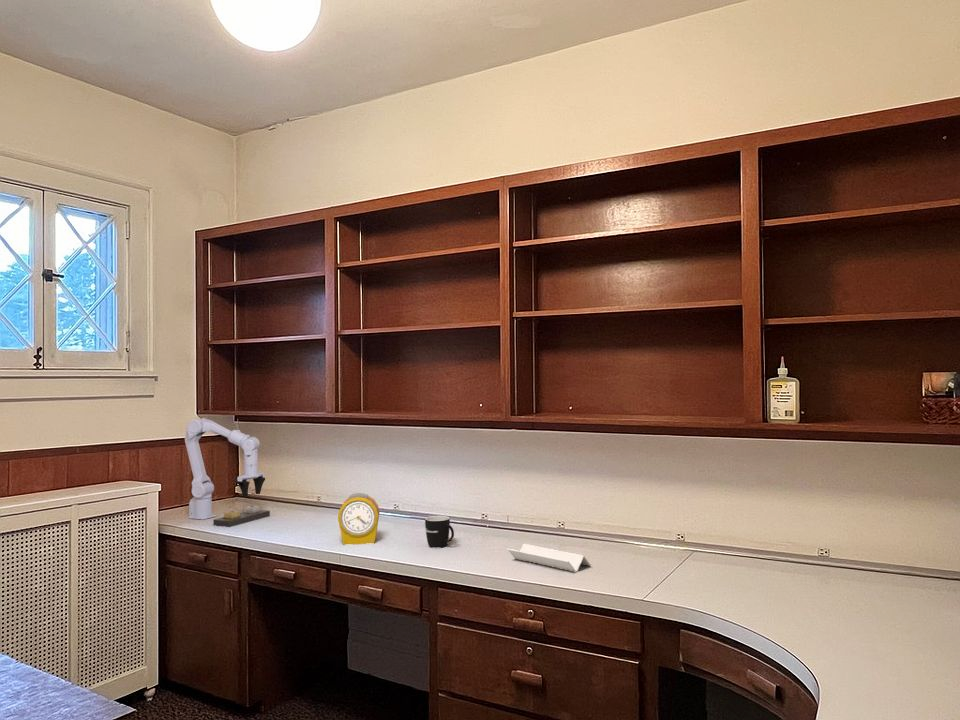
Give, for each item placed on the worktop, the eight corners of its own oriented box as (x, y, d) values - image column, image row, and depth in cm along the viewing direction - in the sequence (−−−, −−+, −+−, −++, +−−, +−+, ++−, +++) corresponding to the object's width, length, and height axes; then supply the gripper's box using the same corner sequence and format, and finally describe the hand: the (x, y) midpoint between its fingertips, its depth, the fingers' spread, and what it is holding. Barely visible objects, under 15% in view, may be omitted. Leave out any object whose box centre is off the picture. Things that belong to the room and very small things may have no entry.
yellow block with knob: (224, 524, 314) (223, 512, 314) (232, 522, 318) (231, 510, 318) (231, 525, 311) (231, 513, 311) (239, 522, 315) (239, 511, 315)
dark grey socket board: (213, 525, 311) (213, 519, 311) (254, 514, 333) (254, 509, 333) (229, 527, 307) (228, 521, 307) (269, 516, 328) (269, 510, 328)
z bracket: (524, 569, 251) (531, 553, 255) (584, 583, 234) (592, 566, 237) (507, 549, 245) (515, 533, 248) (567, 562, 228) (575, 545, 231)
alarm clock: (338, 545, 272) (337, 495, 272) (340, 540, 280) (339, 492, 280) (378, 543, 273) (377, 494, 273) (380, 538, 281) (379, 490, 281)
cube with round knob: (244, 518, 324) (244, 507, 324) (252, 516, 328) (252, 505, 328) (252, 519, 322) (252, 507, 322) (259, 517, 326) (259, 505, 326)
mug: (420, 546, 267) (419, 519, 267) (436, 541, 274) (436, 514, 275) (445, 551, 260) (445, 522, 260) (461, 546, 267) (461, 518, 267)
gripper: (245, 467, 317) (246, 498, 317) (269, 463, 330) (270, 493, 330) (233, 466, 321) (234, 497, 321) (257, 462, 334) (258, 492, 334)
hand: (251, 495), depth 326 cm, fingers open, 7 cm apart
